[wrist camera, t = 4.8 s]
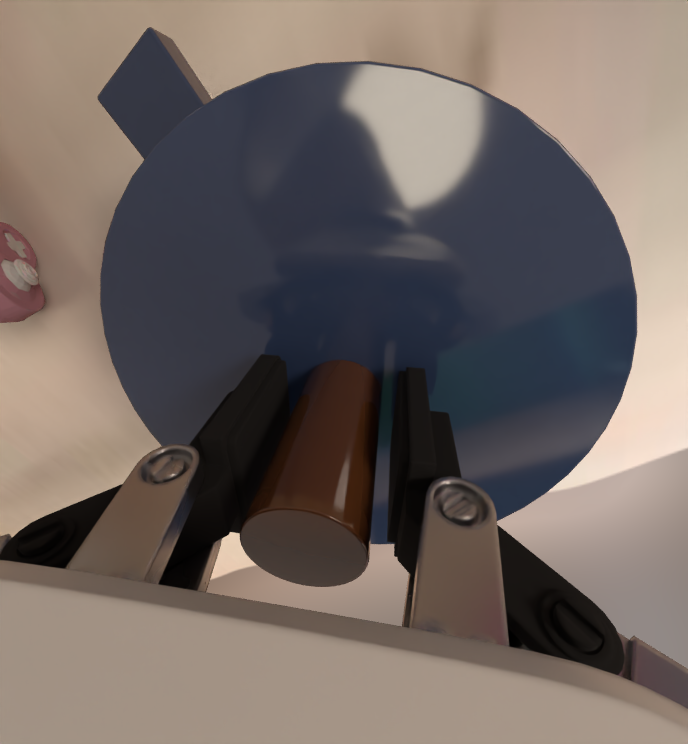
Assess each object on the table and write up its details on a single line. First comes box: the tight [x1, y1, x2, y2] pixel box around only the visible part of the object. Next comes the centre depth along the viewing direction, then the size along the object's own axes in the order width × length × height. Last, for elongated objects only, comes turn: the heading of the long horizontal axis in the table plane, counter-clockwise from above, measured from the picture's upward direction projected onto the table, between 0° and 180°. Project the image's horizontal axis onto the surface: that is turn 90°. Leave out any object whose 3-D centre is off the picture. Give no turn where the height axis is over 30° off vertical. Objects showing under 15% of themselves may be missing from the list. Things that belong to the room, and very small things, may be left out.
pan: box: [97, 27, 212, 159], centre depth 14 cm, size 16×21×7 cm
